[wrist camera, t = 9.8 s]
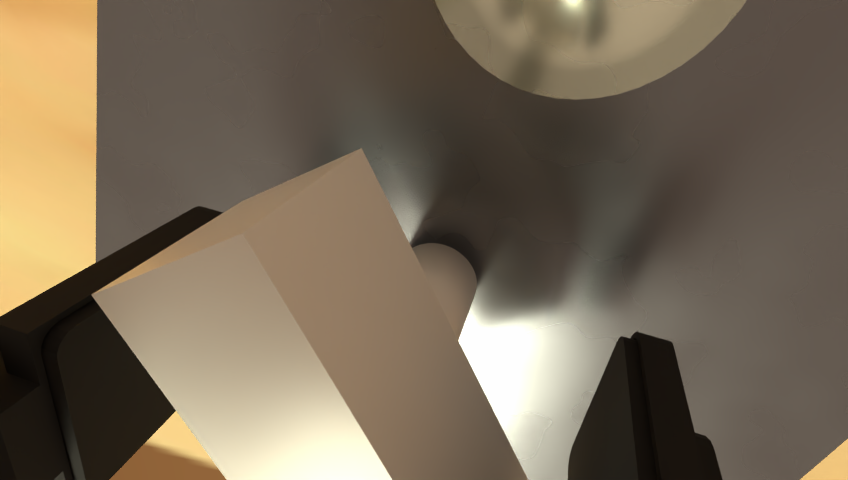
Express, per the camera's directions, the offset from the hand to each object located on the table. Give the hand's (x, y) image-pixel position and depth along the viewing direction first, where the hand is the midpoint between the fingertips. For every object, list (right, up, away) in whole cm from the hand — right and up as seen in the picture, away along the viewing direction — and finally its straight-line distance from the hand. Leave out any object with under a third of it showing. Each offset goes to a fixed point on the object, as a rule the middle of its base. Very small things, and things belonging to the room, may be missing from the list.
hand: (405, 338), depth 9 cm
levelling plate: (+3, +8, 0) cm, 8 cm away
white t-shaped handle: (+1, +1, +2) cm, 2 cm away
